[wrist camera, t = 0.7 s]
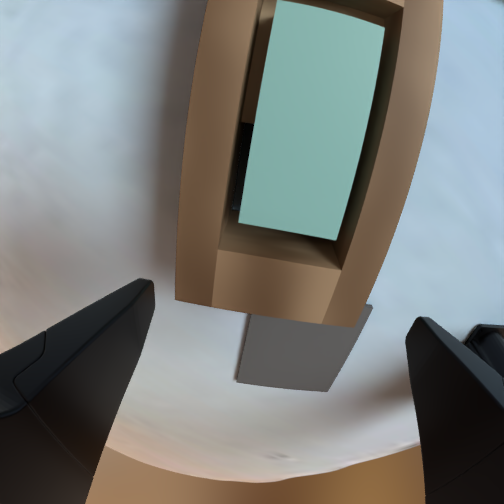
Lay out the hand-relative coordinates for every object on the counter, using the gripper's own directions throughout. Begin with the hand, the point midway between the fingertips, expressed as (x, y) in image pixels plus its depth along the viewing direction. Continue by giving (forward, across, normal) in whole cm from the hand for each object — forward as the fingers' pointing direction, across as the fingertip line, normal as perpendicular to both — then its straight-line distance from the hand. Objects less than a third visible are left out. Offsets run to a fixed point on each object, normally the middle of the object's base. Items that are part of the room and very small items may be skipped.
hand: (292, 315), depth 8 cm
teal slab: (+8, 0, -5) cm, 10 cm away
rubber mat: (+11, -4, +13) cm, 17 cm away
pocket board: (+11, 0, -5) cm, 12 cm away
